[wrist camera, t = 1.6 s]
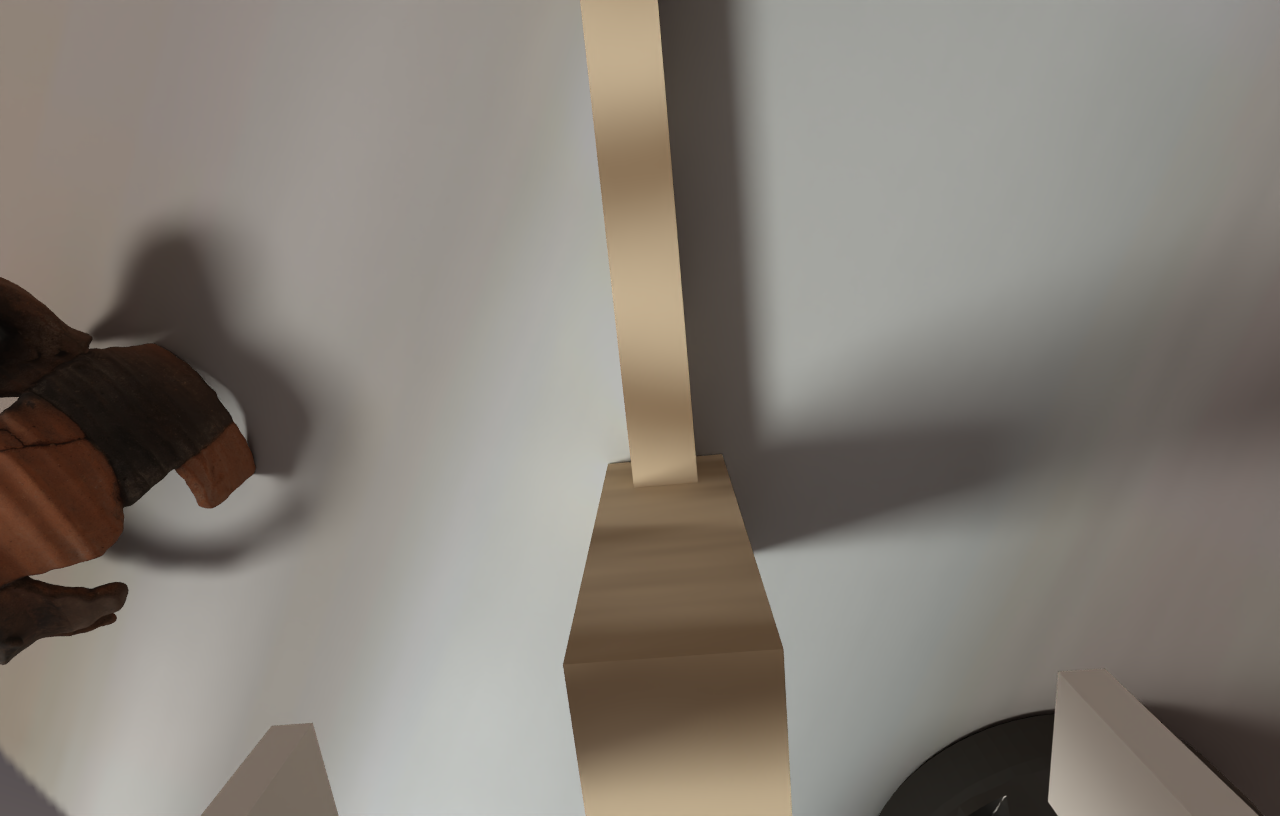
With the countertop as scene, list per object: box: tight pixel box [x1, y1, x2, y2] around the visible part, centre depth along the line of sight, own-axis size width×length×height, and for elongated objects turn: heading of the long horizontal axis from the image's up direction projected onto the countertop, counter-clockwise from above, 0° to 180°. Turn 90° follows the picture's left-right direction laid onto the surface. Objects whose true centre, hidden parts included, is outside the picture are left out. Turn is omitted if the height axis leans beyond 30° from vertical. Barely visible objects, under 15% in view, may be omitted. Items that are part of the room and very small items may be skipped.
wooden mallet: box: [563, 0, 792, 816], centre depth 15 cm, size 23×8×11 cm, turn 6°
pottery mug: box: [0, 277, 256, 665], centre depth 20 cm, size 12×10×8 cm
